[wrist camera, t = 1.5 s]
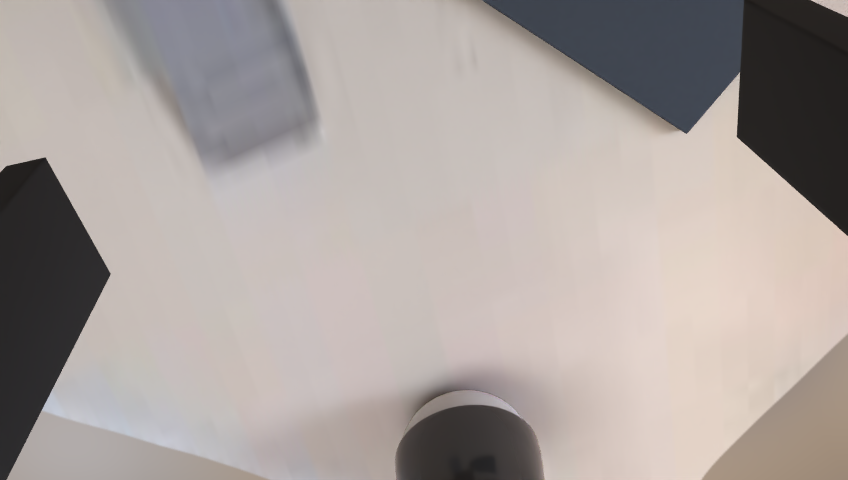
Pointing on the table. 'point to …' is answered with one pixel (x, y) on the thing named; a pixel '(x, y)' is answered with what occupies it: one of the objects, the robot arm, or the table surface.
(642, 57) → the slate mat
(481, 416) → the pump dispenser
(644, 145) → the table surface
